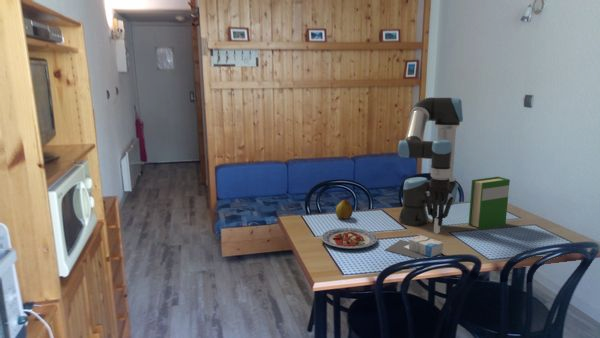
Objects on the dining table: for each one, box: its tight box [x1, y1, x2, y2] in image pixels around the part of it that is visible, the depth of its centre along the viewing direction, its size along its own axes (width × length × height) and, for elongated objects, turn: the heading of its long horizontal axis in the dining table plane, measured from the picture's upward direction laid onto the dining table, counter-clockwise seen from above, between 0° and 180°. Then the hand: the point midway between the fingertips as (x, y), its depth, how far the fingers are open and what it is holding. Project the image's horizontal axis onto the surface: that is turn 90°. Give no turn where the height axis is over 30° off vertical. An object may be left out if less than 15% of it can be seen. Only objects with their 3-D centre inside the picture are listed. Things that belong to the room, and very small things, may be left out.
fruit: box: [335, 197, 353, 220], centre depth 237 cm, size 9×9×12 cm
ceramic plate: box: [320, 227, 378, 249], centre depth 204 cm, size 26×26×3 cm
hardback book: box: [468, 176, 510, 231], centre depth 223 cm, size 18×7×24 cm, turn 114°
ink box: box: [404, 234, 444, 258], centre depth 192 cm, size 8×5×15 cm
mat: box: [384, 239, 429, 260], centre depth 193 cm, size 19×15×1 cm
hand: (436, 232), depth 184 cm, fingers closed
